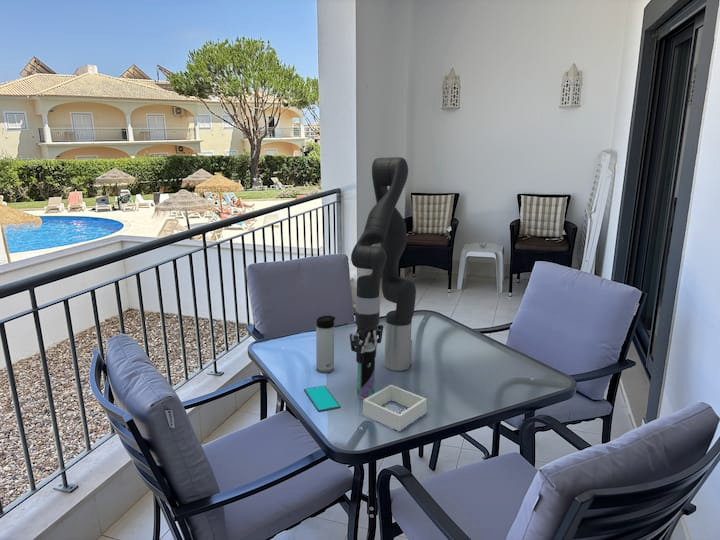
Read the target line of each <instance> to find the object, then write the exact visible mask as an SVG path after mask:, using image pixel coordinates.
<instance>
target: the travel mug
mask: <svg viewBox="0 0 720 540" xmlns="http://www.w3.org/2000/svg"><path fill="white" fill-rule="evenodd" d="M335 320H336V316H333V315H322V316H319V317H318V318H316V329H315V331H316V334H315V336H316V343H315V344H316V346H315V347H316V348H315V349H316V356H315V357H316V359H315V360H316V365H315V366H316V371H317V372H319V373H321V374H328V373H331V372H333V371H334V370H335Z"/></svg>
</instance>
